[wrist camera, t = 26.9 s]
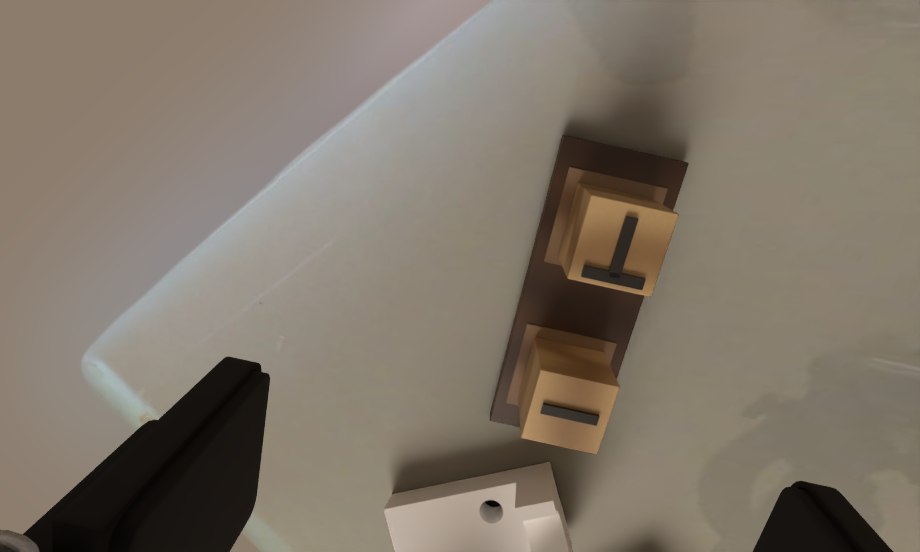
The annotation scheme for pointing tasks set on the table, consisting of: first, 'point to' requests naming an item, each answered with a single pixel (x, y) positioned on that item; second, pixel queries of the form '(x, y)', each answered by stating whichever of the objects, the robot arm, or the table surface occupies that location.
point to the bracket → (482, 515)
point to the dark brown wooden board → (569, 301)
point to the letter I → (566, 396)
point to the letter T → (616, 239)
